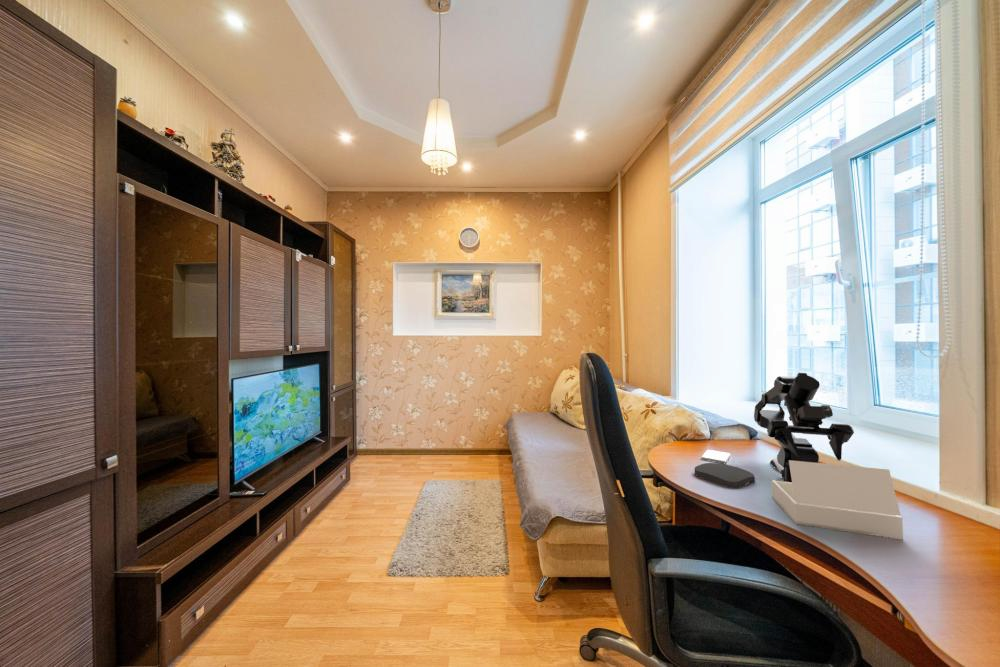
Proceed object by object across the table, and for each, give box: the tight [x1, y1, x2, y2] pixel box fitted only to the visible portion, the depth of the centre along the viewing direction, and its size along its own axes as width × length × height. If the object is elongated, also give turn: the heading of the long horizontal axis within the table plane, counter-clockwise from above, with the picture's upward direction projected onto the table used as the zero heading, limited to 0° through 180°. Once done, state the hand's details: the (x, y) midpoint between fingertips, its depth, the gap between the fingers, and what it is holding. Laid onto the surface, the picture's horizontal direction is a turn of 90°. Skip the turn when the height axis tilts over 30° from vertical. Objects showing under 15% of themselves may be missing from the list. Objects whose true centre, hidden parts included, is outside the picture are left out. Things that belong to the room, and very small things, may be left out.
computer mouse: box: [769, 456, 784, 479], centre depth 123 cm, size 10×18×4 cm, turn 164°
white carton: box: [771, 479, 904, 540], centre depth 92 cm, size 16×20×5 cm
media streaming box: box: [694, 462, 756, 489], centre depth 118 cm, size 15×15×3 cm
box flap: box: [789, 460, 902, 517], centre depth 86 cm, size 1×20×10 cm, turn 68°
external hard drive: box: [700, 449, 731, 465], centre depth 138 cm, size 2×8×12 cm
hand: (818, 457), depth 97 cm, fingers open, 9 cm apart
